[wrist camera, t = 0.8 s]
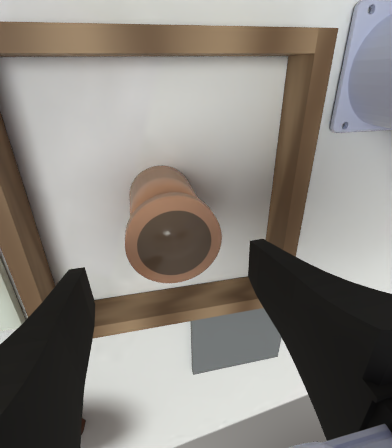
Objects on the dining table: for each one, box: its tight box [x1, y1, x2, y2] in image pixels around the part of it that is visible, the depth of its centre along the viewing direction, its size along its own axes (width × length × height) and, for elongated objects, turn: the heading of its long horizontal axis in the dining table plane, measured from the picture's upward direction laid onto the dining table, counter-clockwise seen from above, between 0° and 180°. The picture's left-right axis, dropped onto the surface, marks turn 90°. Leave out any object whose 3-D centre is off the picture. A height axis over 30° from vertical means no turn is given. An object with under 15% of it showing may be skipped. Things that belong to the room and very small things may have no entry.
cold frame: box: [0, 22, 338, 338], centre depth 19 cm, size 30×20×3 cm
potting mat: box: [191, 308, 281, 375], centre depth 30 cm, size 10×10×1 cm
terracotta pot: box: [125, 166, 222, 283], centre depth 18 cm, size 5×5×7 cm
